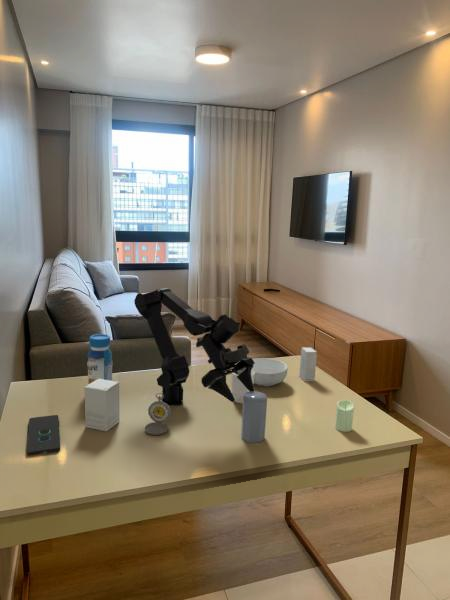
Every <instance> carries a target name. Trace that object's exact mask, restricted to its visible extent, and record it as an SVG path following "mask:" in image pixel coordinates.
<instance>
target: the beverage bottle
mask: <svg viewBox="0 0 450 600" xmlns="http://www.w3.org/2000/svg"><path fill="white" fill-rule="evenodd" d="M110 346H111V336H110V335H108V334H103V333H97V334H91V336H90V335H89V347H90V349H89V350H88V353H87V359H88V360H87V363H86V367H87V385H89V384H90V383H92V382H94V381H95V380H97V379H104V380H109V381H113V365H114V364H113V363H114V361H113V359H112V358H113V353H112V351H111V348H110Z"/></svg>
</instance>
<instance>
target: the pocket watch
mask: <svg viewBox="0 0 450 600" xmlns="http://www.w3.org/2000/svg"><path fill="white" fill-rule="evenodd" d="M157 395H161V396H157ZM162 395H163V394H162V392H158V393H156V394H155V398H156V399H157V400H156V401H153V402H152V403H151V404H150V405H149V407H148V410H147V411H148V416H149V418H150V419H151V420H152V421H153V422H149V423H148V424H146V425H145V427H144V432H146V433H147V434H149V435H153V436H158V435H164V434H165V433H166V432H167V431H168V429H169V427H168V425H167V424H166V423H165V422H167V421H168V420H169V419H170V417H171V408H170V405H167V404H166V403H165V402H162V399H163V398H164V395H163V398H161V397H162Z"/></svg>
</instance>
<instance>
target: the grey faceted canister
mask: <svg viewBox="0 0 450 600" xmlns="http://www.w3.org/2000/svg"><path fill="white" fill-rule="evenodd" d="M267 396H268V395H266V393H264V392H261V391H255V390H254V391H251V392H246V393H245V394H244V395H243V403H242V412H241V428H240V429H241V432H240V436H241V439H242V440H244V441H246V442H248V443H260V442H262V441H264V440H265V437H266V436H265V435H266V424H267V423H266V422H267V410H268V409H267V408H268V407H267V405H268V397H267Z"/></svg>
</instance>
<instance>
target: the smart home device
mask: <svg viewBox="0 0 450 600" xmlns="http://www.w3.org/2000/svg"><path fill="white" fill-rule="evenodd" d="M27 426H28V428H27V445H26V447H27V448H26V455H27V456H28V457H31V456H39V455H45V454H54V453H59V452H60V451H61V437H60V436H61V435H60V420H59V415H58V414H53V415H51V414H50V415H44V416H35V417H30V418H29V419H28V425H27Z"/></svg>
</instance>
